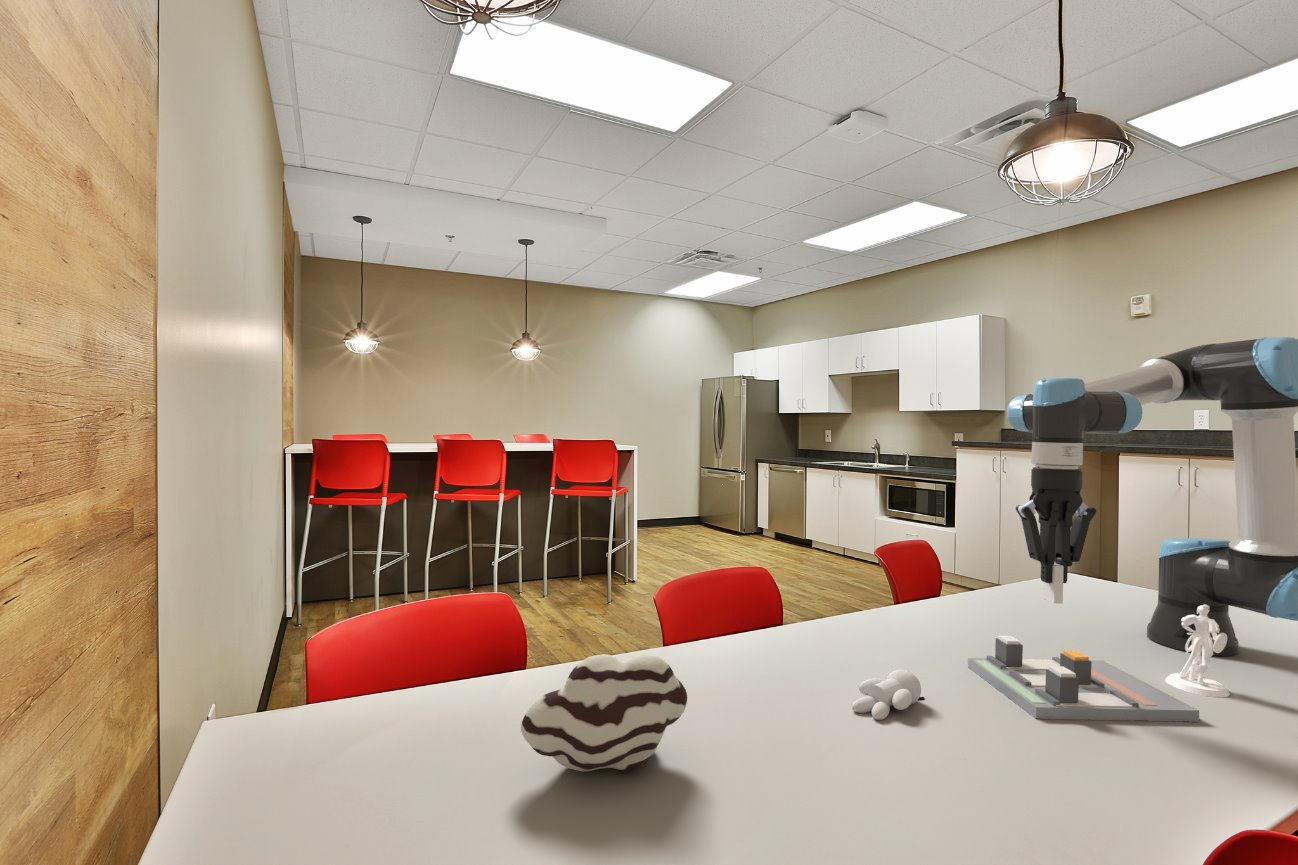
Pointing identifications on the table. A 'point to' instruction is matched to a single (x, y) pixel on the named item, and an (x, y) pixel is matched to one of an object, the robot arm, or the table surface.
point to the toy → (888, 694)
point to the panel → (1083, 693)
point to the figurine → (1206, 646)
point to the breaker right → (1062, 684)
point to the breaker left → (1009, 651)
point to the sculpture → (606, 713)
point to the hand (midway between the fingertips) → (1053, 601)
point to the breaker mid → (1077, 665)
